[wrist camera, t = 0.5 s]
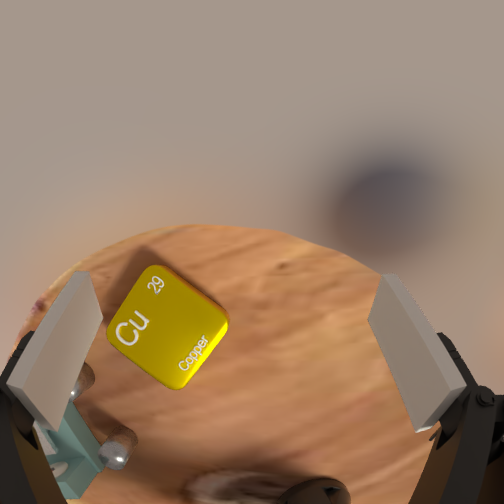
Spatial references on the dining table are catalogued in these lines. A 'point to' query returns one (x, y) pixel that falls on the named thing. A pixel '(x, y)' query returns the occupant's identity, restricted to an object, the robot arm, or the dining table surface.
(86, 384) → the cylinder
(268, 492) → the dining table surface
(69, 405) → the scale body
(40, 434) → the platform
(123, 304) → the element tile
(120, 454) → the cylinder
